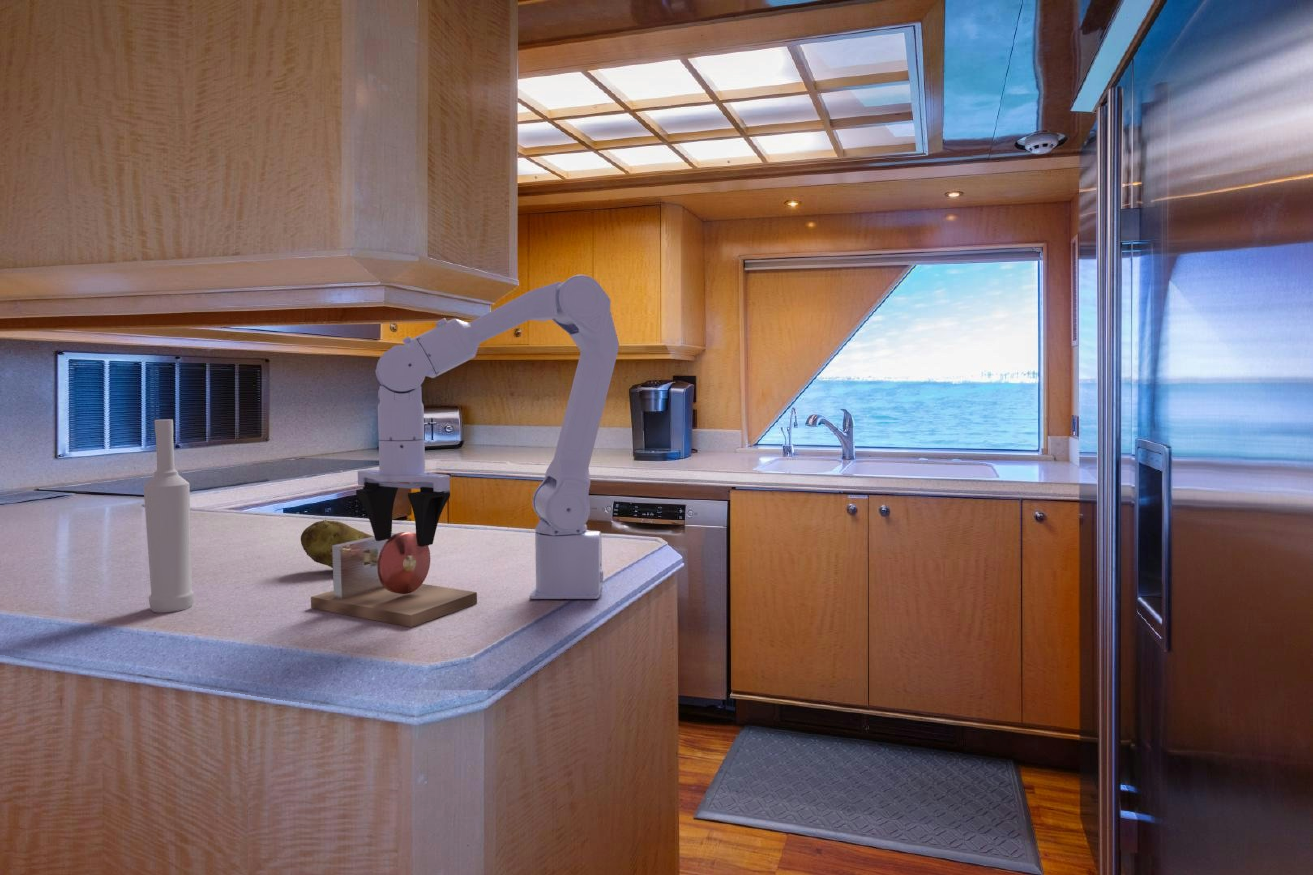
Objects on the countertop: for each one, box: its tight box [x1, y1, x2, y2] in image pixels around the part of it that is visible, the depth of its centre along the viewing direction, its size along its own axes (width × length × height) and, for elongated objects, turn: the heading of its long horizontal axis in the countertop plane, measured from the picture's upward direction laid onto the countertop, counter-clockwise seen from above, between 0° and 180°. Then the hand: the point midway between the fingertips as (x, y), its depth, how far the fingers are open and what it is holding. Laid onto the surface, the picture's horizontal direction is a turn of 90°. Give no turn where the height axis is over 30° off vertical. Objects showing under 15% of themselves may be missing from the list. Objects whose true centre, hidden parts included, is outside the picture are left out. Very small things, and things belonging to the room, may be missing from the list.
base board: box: [310, 583, 478, 628], centre depth 108 cm, size 18×12×2 cm, turn 62°
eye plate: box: [332, 532, 398, 600], centre depth 110 cm, size 2×10×7 cm, turn 152°
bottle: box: [143, 418, 195, 614], centre depth 106 cm, size 5×5×25 cm
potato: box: [300, 519, 374, 569], centre depth 128 cm, size 8×13×8 cm, turn 83°
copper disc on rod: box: [364, 531, 431, 594], centre depth 108 cm, size 11×8×8 cm
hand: (403, 542), depth 106 cm, fingers open, 7 cm apart
